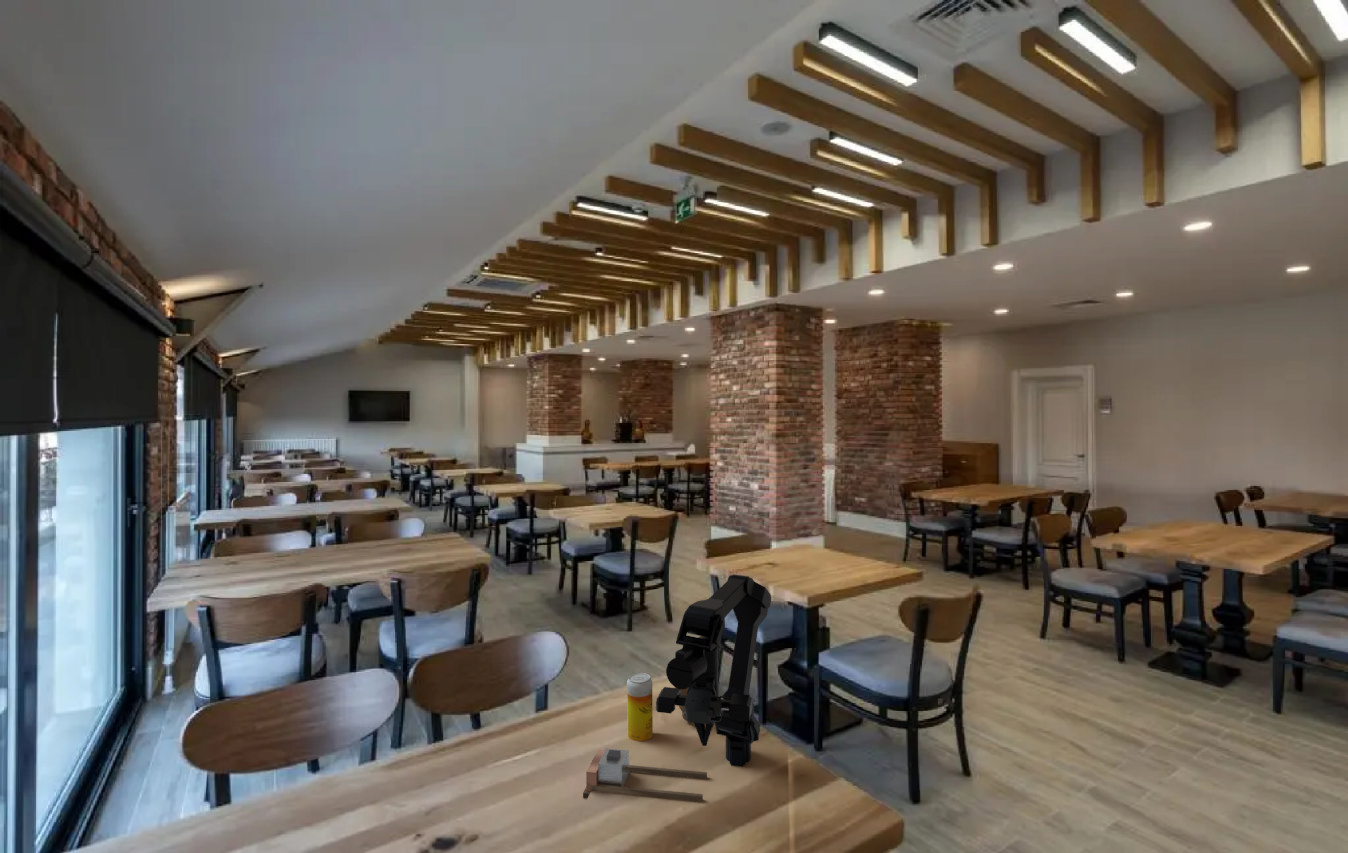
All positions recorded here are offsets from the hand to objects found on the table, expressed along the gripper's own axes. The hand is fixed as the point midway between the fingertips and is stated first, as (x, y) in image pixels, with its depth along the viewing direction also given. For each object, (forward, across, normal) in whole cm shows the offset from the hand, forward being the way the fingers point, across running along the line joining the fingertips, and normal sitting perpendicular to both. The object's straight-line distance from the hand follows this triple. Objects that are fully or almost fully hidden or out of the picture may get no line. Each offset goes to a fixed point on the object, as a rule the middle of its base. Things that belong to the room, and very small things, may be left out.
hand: (704, 745), depth 126 cm
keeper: (+11, -20, +2) cm, 23 cm away
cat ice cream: (+12, -9, +31) cm, 35 cm away
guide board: (+12, -12, +2) cm, 17 cm away
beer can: (+12, -20, +20) cm, 31 cm away
